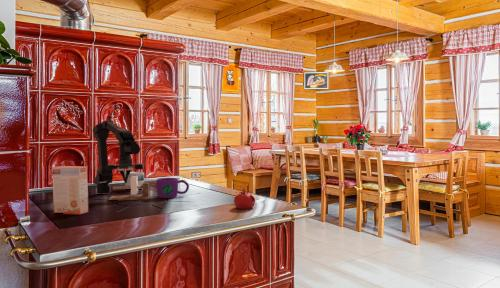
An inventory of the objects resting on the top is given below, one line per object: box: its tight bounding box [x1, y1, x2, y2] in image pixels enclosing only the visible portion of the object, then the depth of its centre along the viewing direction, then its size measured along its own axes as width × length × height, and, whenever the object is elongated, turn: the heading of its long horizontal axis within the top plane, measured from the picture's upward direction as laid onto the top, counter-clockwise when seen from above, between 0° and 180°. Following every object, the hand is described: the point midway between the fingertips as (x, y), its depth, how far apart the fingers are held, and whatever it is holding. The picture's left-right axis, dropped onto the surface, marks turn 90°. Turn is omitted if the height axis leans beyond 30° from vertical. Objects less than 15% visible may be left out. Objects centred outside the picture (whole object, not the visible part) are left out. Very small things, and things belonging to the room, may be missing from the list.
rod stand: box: [108, 181, 151, 201], centre depth 211 cm, size 20×10×8 cm, turn 100°
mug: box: [156, 177, 190, 200], centre depth 214 cm, size 17×11×10 cm, turn 104°
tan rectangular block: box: [130, 176, 139, 195], centre depth 211 cm, size 3×7×9 cm, turn 10°
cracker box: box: [51, 165, 89, 215], centre depth 175 cm, size 14×6×21 cm, turn 74°
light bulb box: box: [124, 171, 145, 189], centre depth 243 cm, size 11×7×11 cm, turn 58°
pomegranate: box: [233, 187, 256, 210], centre depth 180 cm, size 10×10×9 cm
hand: (125, 183), depth 211 cm, fingers closed
